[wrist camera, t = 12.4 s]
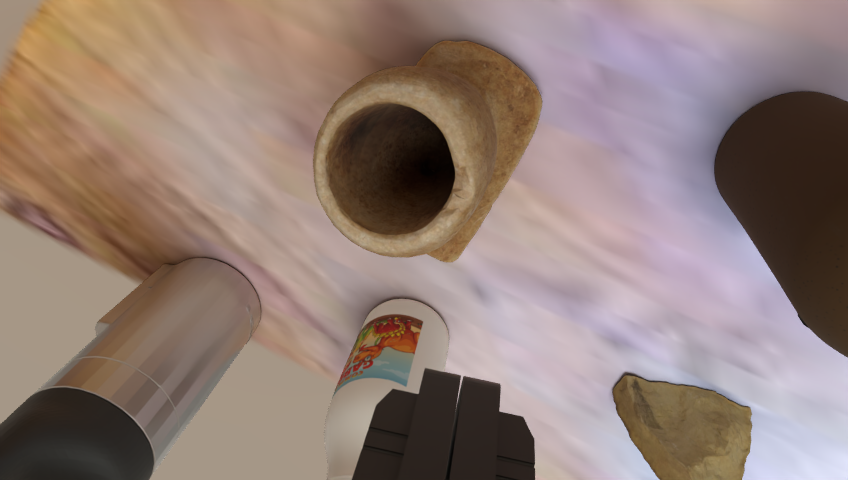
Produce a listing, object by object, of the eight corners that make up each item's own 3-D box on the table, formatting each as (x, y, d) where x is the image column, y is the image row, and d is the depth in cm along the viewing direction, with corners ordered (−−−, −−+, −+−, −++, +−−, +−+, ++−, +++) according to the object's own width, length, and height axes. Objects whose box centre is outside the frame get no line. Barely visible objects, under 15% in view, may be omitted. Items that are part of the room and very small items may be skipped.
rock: (578, 414, 50) (648, 496, 51) (638, 440, 41) (721, 538, 43) (658, 327, 52) (724, 407, 53) (730, 335, 44) (806, 430, 45)
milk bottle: (461, 312, 50) (426, 512, 32) (436, 378, 53) (391, 591, 36) (376, 283, 50) (293, 467, 32) (356, 351, 53) (271, 550, 36)
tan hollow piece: (413, 0, 39) (357, 25, 26) (564, 88, 40) (583, 155, 27) (327, 181, 46) (248, 274, 33) (458, 252, 47) (432, 370, 34)
